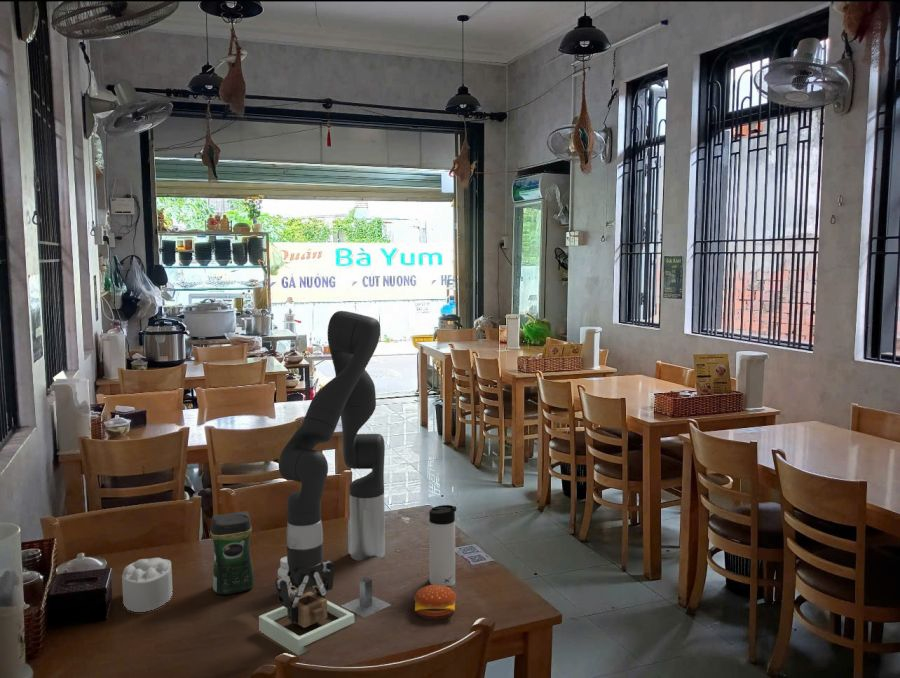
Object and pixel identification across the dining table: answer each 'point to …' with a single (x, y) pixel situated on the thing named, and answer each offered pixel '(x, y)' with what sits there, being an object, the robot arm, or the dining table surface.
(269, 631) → the tray
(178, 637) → the dining table surface
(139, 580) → the lumpy-topped squat cylinder
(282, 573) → the supplement bottle
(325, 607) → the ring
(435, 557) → the travel mug
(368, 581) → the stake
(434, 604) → the hamburger
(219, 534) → the coffee jar
